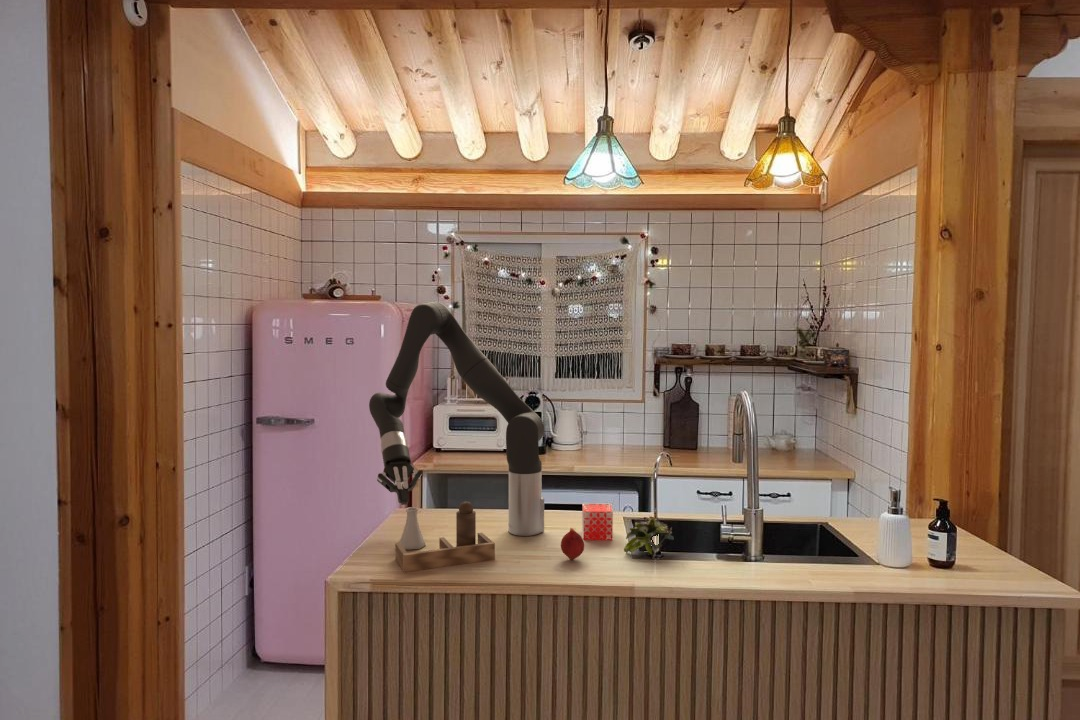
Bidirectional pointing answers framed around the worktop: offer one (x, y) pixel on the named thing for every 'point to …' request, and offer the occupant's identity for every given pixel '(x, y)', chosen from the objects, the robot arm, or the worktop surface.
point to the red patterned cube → (597, 522)
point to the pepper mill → (465, 525)
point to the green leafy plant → (648, 535)
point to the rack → (445, 554)
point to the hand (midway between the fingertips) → (404, 503)
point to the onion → (572, 544)
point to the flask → (412, 531)
